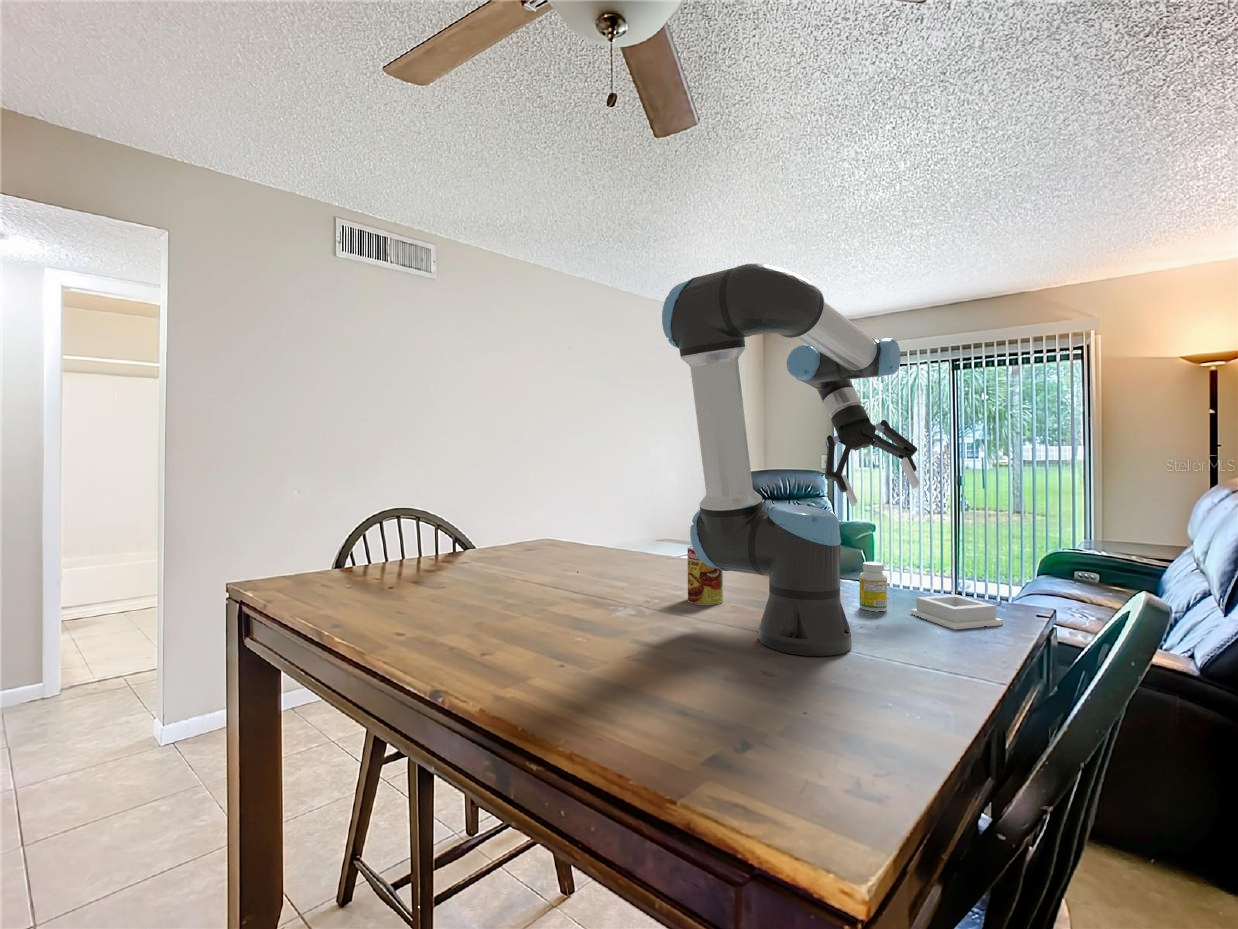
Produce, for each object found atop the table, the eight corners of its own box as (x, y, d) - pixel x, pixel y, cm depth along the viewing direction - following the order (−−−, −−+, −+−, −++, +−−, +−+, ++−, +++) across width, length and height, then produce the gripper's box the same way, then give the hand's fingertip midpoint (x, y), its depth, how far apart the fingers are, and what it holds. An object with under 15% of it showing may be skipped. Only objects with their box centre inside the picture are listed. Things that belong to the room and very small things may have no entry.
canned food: (682, 598, 133) (682, 545, 133) (714, 595, 134) (714, 544, 134) (695, 606, 125) (695, 550, 125) (729, 603, 127) (728, 549, 127)
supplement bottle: (883, 613, 118) (882, 566, 118) (855, 609, 121) (855, 563, 121) (890, 608, 122) (890, 562, 122) (864, 604, 125) (864, 560, 125)
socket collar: (954, 629, 107) (954, 610, 107) (910, 614, 117) (910, 596, 117) (1002, 625, 109) (1002, 606, 109) (956, 610, 120) (955, 593, 120)
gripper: (894, 404, 137) (936, 485, 128) (791, 434, 138) (826, 516, 129) (904, 388, 130) (948, 472, 121) (795, 420, 131) (832, 506, 122)
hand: (885, 495), depth 125 cm, fingers open, 13 cm apart
